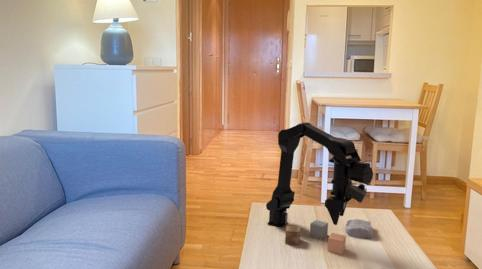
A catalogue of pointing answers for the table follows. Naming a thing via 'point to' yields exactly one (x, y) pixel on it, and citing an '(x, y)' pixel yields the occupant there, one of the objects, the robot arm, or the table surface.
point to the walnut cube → (292, 235)
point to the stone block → (359, 228)
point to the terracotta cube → (336, 243)
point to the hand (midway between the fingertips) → (338, 220)
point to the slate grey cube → (319, 229)
